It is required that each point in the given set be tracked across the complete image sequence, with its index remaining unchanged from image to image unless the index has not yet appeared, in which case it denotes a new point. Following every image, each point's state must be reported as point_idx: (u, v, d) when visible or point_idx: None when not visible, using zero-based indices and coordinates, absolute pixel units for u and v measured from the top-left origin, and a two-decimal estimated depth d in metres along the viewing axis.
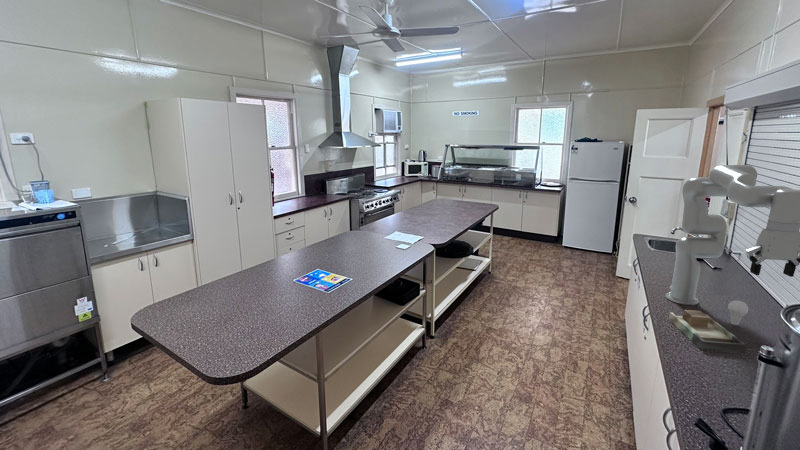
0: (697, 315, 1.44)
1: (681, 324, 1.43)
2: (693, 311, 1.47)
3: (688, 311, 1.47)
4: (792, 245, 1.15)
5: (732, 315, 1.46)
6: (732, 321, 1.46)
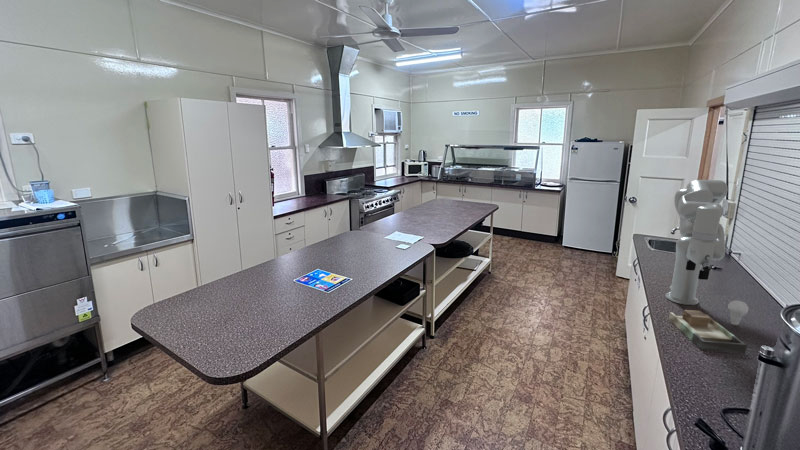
0: (697, 315, 1.44)
1: (681, 324, 1.43)
2: (693, 311, 1.47)
3: (688, 311, 1.47)
4: None
5: (732, 315, 1.46)
6: (732, 321, 1.46)
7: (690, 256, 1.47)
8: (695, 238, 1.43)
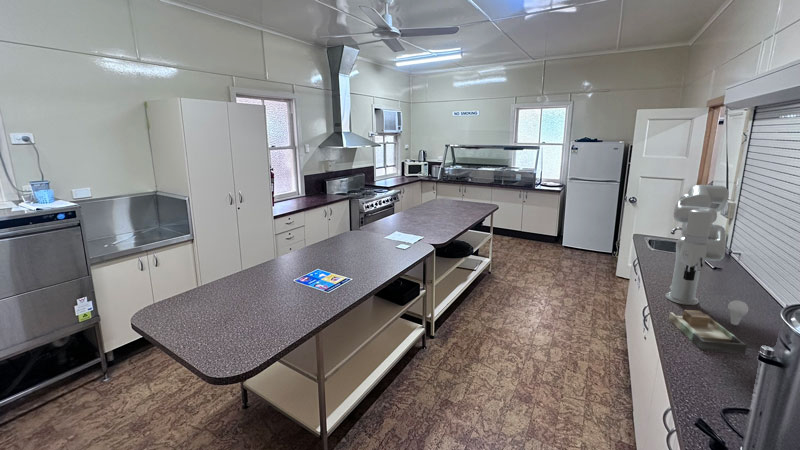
0: (697, 315, 1.44)
1: (681, 324, 1.43)
2: (693, 311, 1.47)
3: (688, 311, 1.47)
4: None
5: (732, 315, 1.46)
6: (732, 321, 1.46)
7: (683, 259, 1.50)
8: (688, 241, 1.46)
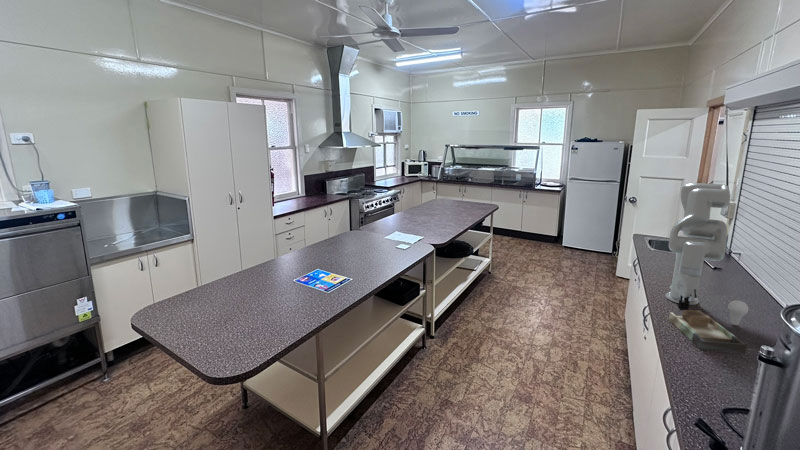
0: (697, 315, 1.44)
1: (681, 324, 1.43)
2: (693, 311, 1.47)
3: (688, 311, 1.47)
4: None
5: (732, 315, 1.46)
6: (732, 321, 1.46)
7: (677, 289, 1.53)
8: (682, 272, 1.49)
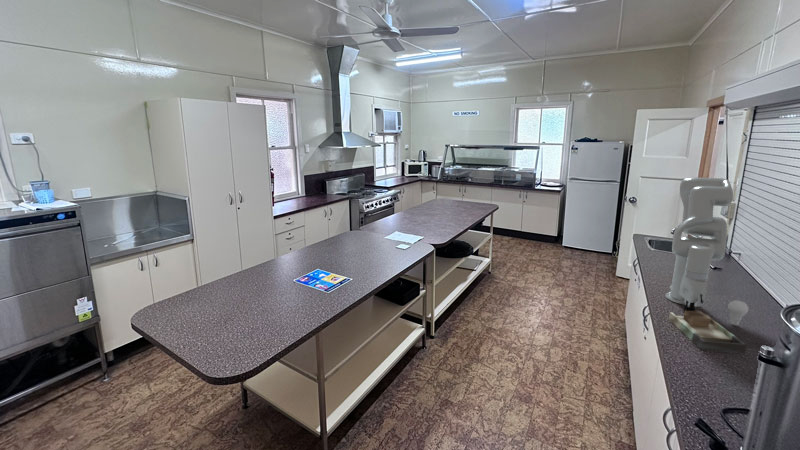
0: (698, 316, 1.43)
1: (681, 324, 1.43)
2: (694, 312, 1.46)
3: (689, 312, 1.46)
4: None
5: (732, 315, 1.46)
6: (732, 321, 1.46)
7: (683, 294, 1.49)
8: (688, 277, 1.45)
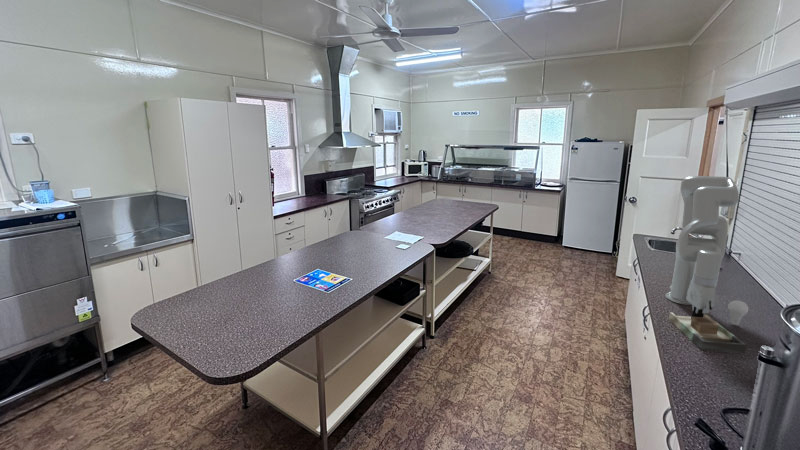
0: (706, 322, 1.38)
1: (681, 324, 1.43)
2: (702, 318, 1.41)
3: (697, 318, 1.41)
4: None
5: (732, 315, 1.46)
6: (732, 321, 1.46)
7: (690, 300, 1.44)
8: (696, 282, 1.40)
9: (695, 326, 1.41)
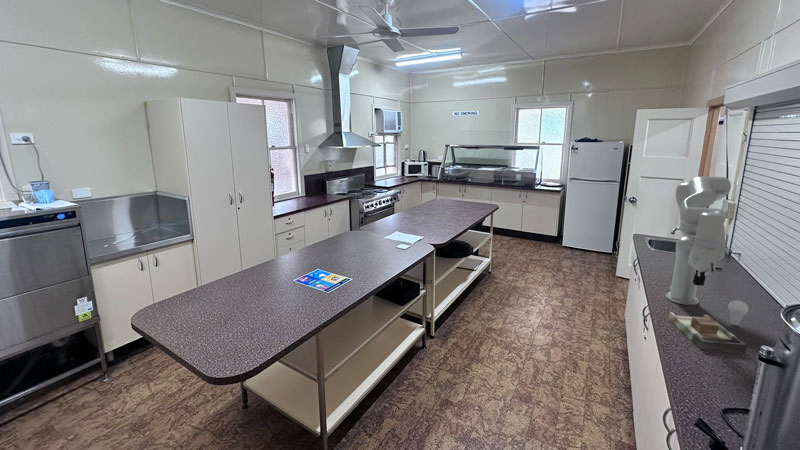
0: (706, 322, 1.38)
1: (681, 324, 1.43)
2: (702, 318, 1.41)
3: (697, 318, 1.41)
4: None
5: (732, 315, 1.46)
6: (732, 321, 1.46)
7: (692, 263, 1.44)
8: (698, 245, 1.39)
9: (695, 326, 1.41)
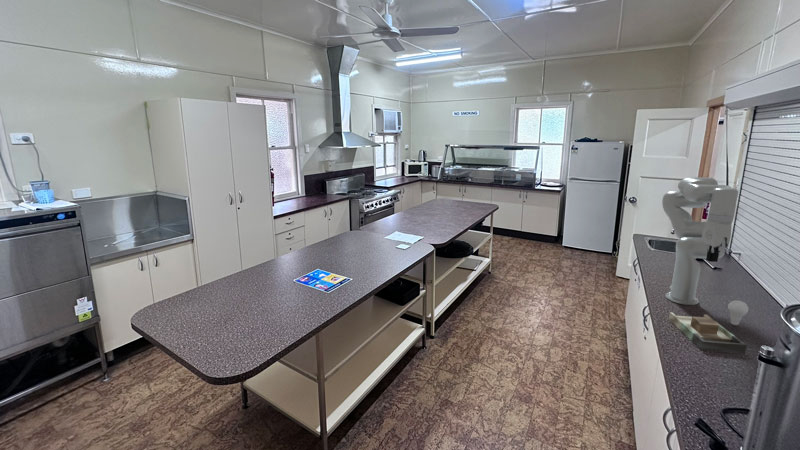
0: (706, 322, 1.38)
1: (681, 324, 1.43)
2: (702, 318, 1.41)
3: (697, 318, 1.41)
4: None
5: (732, 315, 1.46)
6: (732, 321, 1.46)
7: (706, 239, 1.45)
8: (712, 220, 1.41)
9: (695, 326, 1.41)
